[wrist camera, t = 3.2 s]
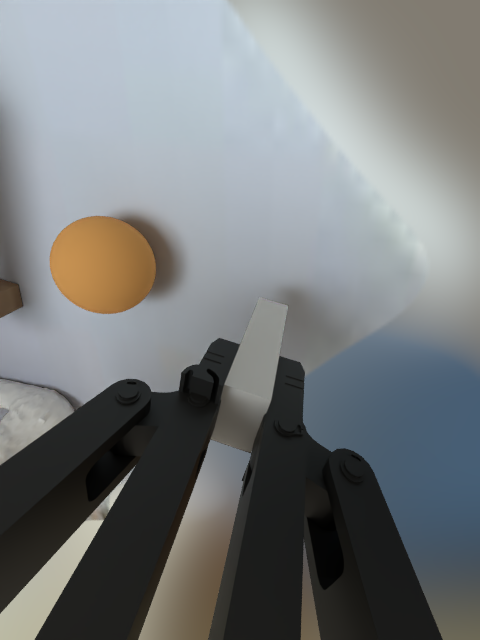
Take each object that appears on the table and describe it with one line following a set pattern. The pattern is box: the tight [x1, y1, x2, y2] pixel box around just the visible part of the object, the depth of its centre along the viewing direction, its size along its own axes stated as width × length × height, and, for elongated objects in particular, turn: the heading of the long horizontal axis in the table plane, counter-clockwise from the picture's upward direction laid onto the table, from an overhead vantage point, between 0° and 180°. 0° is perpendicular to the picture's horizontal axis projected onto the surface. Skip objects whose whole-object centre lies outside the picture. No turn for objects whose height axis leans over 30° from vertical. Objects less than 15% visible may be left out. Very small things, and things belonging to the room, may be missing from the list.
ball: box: [50, 216, 156, 314], centre depth 17 cm, size 6×6×6 cm
